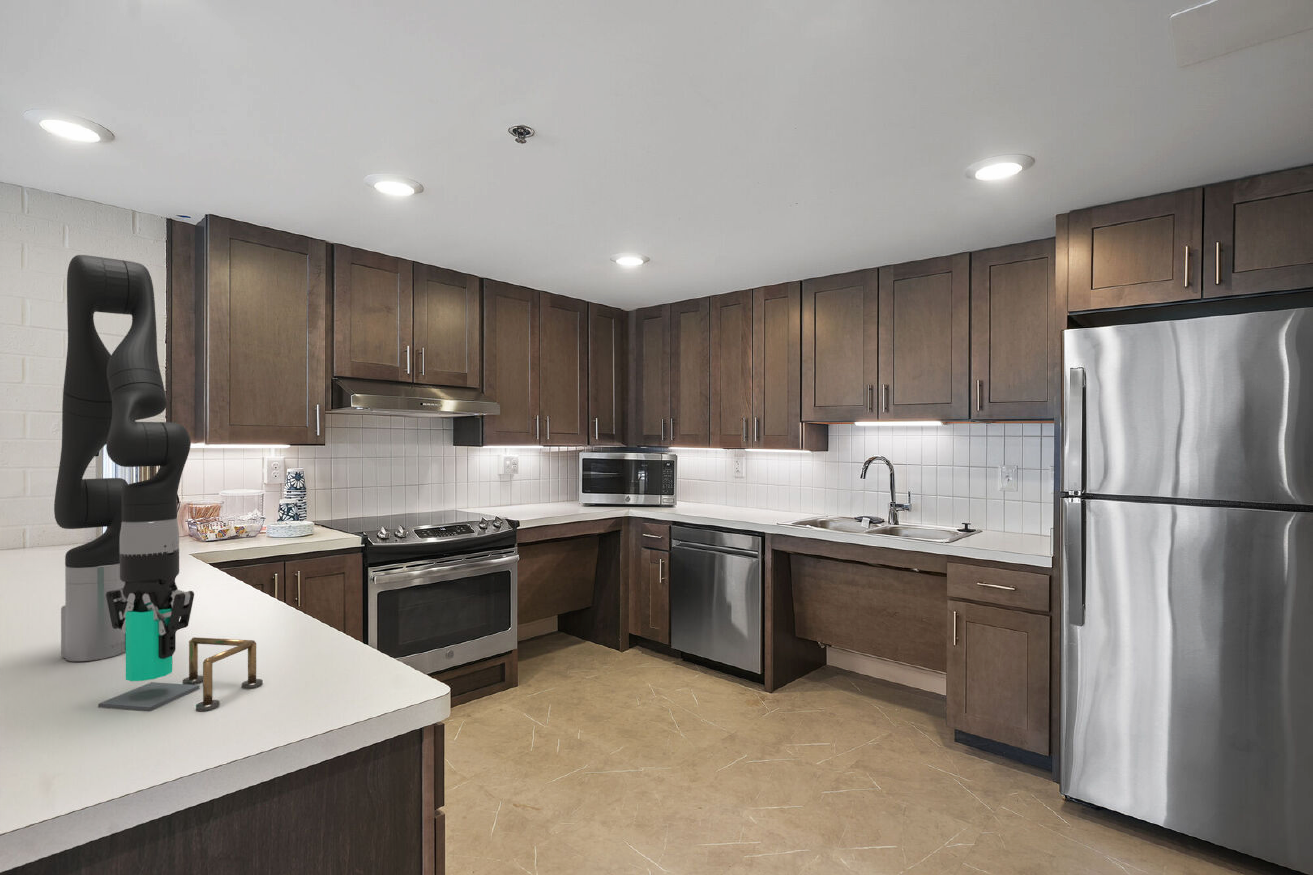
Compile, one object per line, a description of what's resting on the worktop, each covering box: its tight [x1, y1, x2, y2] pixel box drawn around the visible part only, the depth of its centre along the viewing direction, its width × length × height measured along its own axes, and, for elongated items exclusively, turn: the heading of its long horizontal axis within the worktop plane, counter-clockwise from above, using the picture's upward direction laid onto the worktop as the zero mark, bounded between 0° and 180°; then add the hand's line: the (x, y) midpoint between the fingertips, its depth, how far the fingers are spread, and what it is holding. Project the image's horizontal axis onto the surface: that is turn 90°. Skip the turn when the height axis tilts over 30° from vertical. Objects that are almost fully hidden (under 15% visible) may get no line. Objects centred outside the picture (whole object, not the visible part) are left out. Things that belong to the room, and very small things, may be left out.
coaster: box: [97, 681, 201, 712], centre depth 106 cm, size 9×9×1 cm
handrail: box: [181, 637, 264, 713], centre depth 107 cm, size 14×12×8 cm
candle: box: [125, 609, 173, 682], centre depth 106 cm, size 6×6×12 cm
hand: (150, 655), depth 106 cm, fingers closed on candle, 5 cm apart
